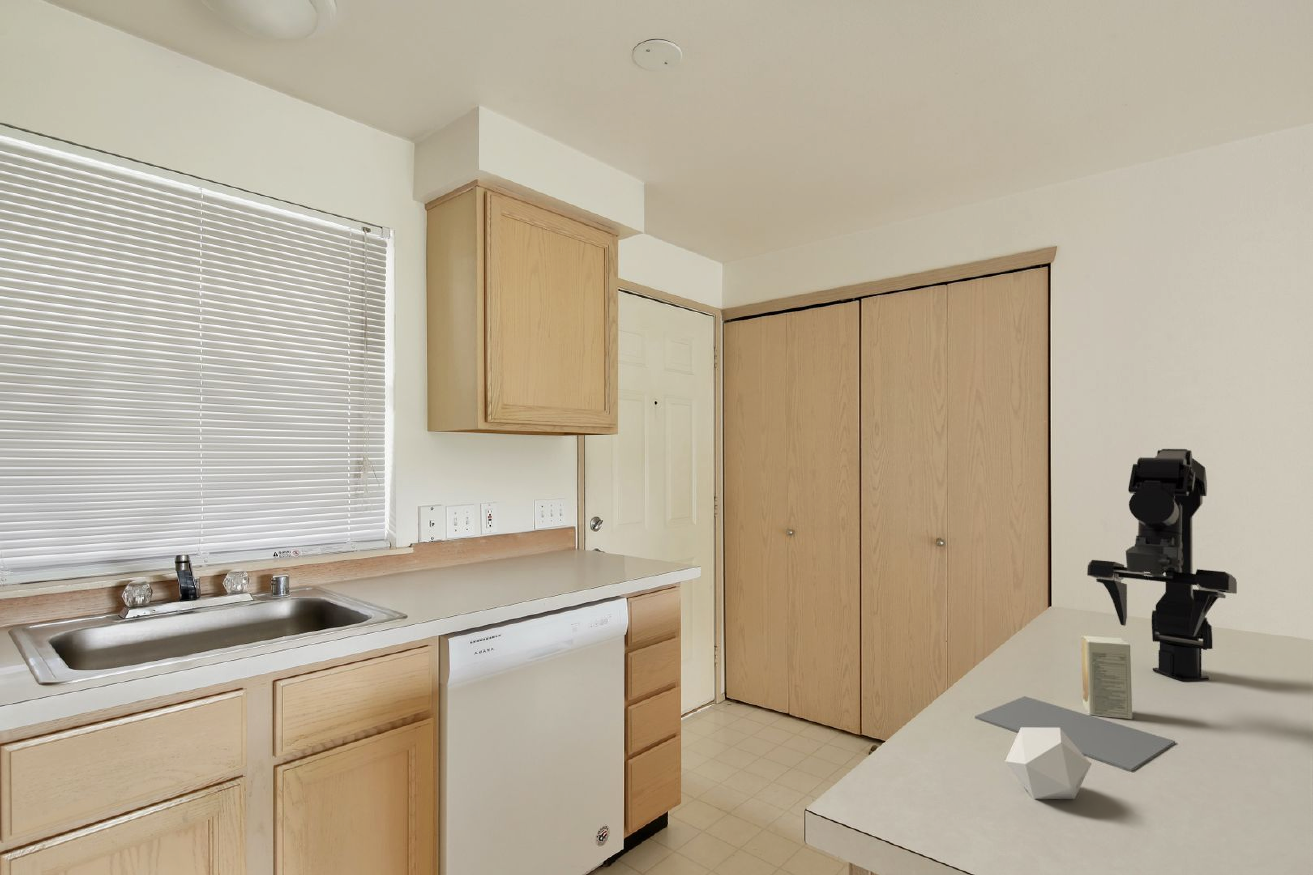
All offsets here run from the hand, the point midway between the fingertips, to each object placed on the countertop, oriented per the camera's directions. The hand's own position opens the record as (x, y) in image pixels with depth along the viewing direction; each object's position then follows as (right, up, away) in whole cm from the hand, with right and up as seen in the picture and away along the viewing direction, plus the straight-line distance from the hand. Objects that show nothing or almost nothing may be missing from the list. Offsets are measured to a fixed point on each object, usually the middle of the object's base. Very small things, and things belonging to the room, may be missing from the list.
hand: (1156, 630), depth 108 cm
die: (-30, -14, -22) cm, 40 cm away
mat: (-15, -15, -3) cm, 21 cm away
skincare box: (-5, -15, +5) cm, 17 cm away
